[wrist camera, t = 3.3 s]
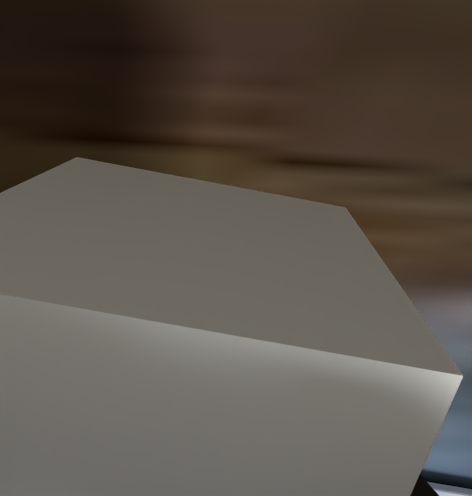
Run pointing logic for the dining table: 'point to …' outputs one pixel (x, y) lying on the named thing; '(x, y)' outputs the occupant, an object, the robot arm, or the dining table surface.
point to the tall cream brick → (204, 344)
